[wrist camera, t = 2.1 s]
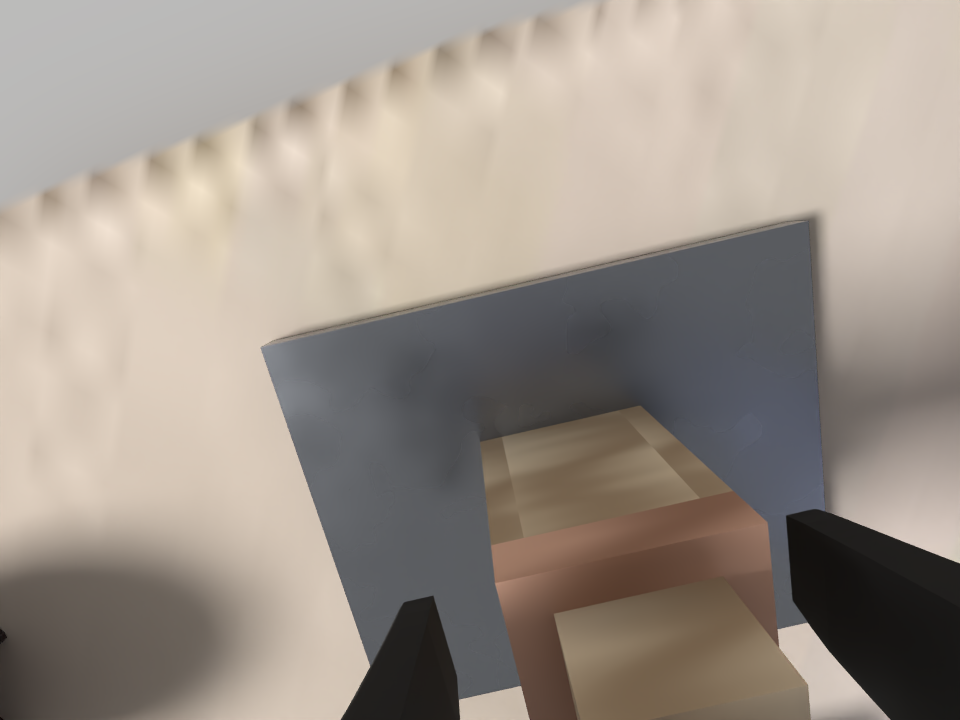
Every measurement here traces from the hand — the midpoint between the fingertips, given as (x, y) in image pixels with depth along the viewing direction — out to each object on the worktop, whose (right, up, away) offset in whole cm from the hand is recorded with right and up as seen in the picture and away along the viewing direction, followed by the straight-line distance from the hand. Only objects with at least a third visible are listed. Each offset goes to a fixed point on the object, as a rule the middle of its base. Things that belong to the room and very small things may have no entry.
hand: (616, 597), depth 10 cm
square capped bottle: (0, +1, +4) cm, 4 cm away
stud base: (0, +1, +5) cm, 5 cm away
